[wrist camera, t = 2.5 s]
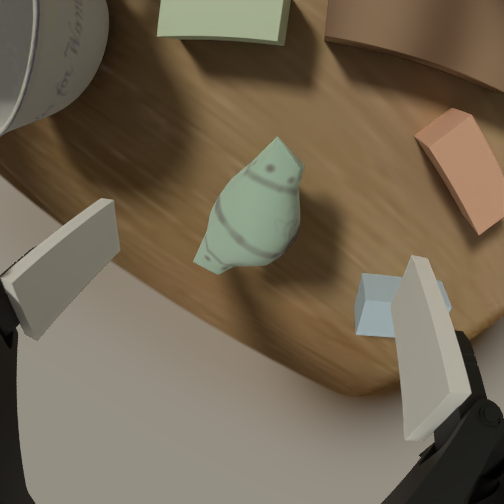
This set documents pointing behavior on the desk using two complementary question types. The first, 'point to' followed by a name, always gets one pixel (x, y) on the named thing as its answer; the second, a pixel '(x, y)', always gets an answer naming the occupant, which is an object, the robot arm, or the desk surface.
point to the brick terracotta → (466, 167)
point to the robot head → (255, 213)
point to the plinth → (427, 34)
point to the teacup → (47, 55)
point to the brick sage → (225, 20)
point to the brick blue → (379, 304)
